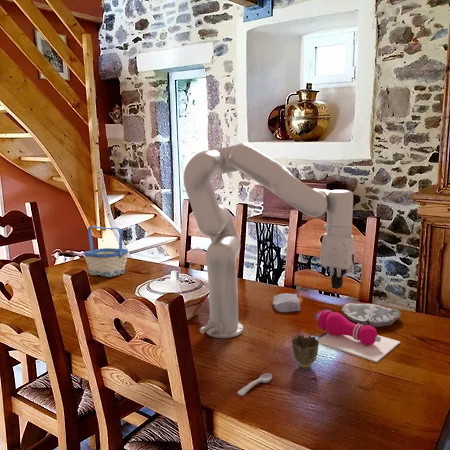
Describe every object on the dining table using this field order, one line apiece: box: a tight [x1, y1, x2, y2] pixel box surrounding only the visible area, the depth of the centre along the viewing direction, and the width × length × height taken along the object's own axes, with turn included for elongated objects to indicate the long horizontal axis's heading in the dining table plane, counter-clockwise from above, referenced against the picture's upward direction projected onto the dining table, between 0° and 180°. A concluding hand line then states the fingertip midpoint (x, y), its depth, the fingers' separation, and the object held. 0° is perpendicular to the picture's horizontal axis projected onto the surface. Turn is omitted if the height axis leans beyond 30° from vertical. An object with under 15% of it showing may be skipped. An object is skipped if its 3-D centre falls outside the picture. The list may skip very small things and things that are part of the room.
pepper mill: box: [317, 309, 381, 345], centre depth 141 cm, size 7×7×20 cm
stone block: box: [272, 292, 301, 313], centre depth 172 cm, size 12×5×10 cm
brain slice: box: [341, 303, 402, 328], centre depth 157 cm, size 20×17×3 cm
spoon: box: [236, 372, 273, 397], centre depth 118 cm, size 3×12×2 cm, turn 133°
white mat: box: [317, 332, 401, 363], centre depth 140 cm, size 16×20×1 cm
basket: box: [83, 225, 129, 278], centre depth 218 cm, size 21×16×24 cm
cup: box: [291, 334, 320, 370], centre depth 126 cm, size 8×7×8 cm
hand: (336, 287), depth 142 cm, fingers closed
